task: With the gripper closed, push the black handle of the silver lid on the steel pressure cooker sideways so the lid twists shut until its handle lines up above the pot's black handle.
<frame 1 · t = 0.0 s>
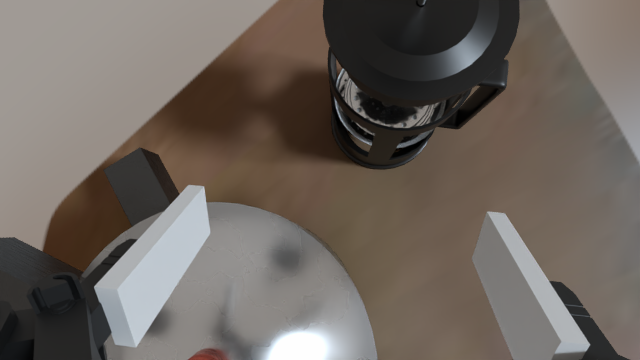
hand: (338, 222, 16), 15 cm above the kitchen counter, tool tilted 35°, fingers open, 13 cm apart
pressure cooker pot: (258, 318, 31), on the kitchen counter
lid: (155, 355, 19), point 13 cm above the kitchen counter, hinge at 35.0°
french press: (386, 122, 33), on the kitchen counter
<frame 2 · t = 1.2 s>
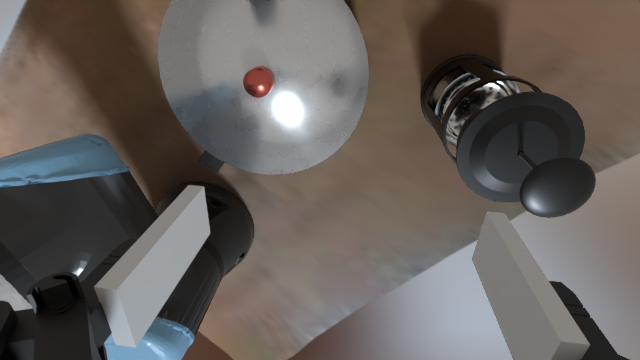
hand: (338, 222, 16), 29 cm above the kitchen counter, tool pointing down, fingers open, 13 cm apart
lid: (257, 48, 29), point 13 cm above the kitchen counter, hinge at 35.0°
french press: (461, 99, 41), on the kitchen counter
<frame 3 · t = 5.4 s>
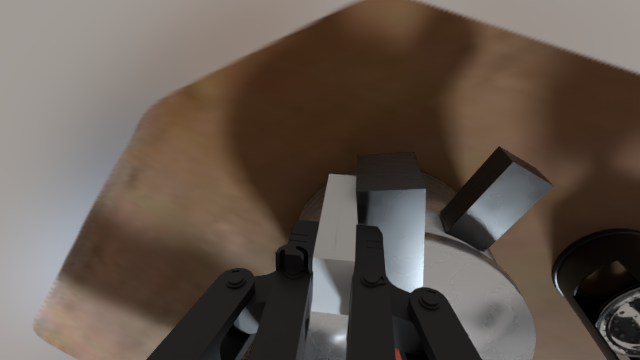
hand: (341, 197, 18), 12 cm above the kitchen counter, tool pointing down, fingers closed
pressure cooker pot: (383, 246, 35), on the kitchen counter
lid: (391, 334, 23), point 13 cm above the kitchen counter, hinge at 34.9°, touching gripper
french press: (604, 270, 34), on the kitchen counter
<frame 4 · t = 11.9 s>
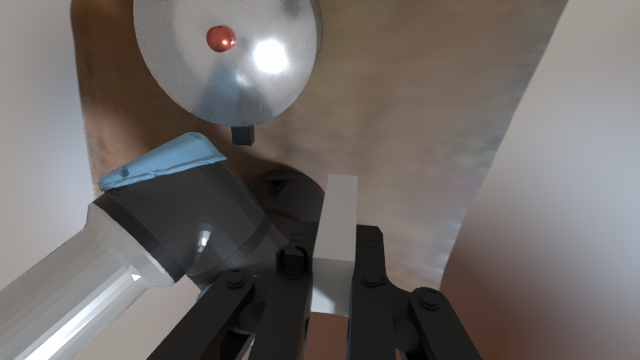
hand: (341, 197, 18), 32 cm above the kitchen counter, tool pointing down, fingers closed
pressure cooker pot: (255, 28, 45), on the kitchen counter
lid: (215, 8, 33), point 13 cm above the kitchen counter, hinge at 3.0°
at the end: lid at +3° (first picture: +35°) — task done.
